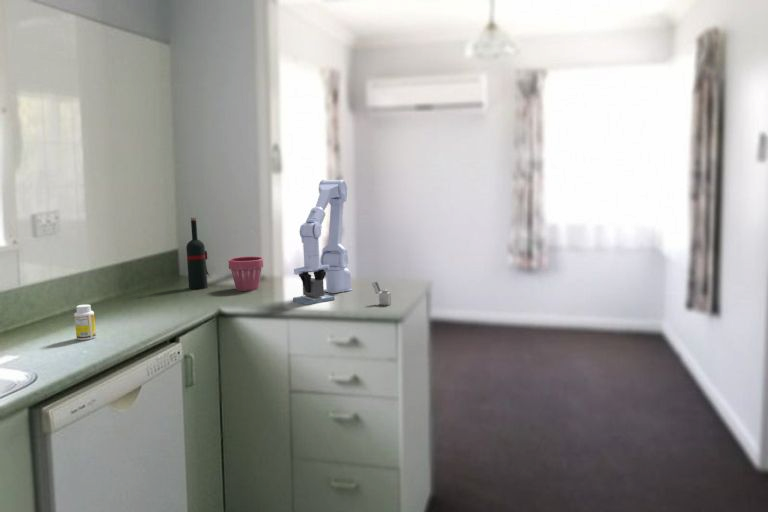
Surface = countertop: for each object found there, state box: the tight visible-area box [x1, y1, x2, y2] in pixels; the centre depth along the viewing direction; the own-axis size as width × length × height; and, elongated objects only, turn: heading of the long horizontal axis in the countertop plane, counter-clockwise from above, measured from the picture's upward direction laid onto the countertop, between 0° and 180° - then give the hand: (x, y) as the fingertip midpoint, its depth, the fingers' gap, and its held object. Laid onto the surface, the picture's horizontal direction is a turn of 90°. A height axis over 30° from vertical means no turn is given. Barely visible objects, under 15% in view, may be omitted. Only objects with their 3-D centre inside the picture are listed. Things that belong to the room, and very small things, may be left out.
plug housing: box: [302, 277, 325, 298], centre depth 263 cm, size 4×8×6 cm, turn 39°
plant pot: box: [228, 256, 264, 292], centre depth 293 cm, size 14×14×13 cm
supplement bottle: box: [74, 304, 97, 341], centre depth 216 cm, size 6×6×10 cm
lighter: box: [371, 280, 392, 306], centre depth 253 cm, size 7×2×8 cm, turn 54°
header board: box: [292, 293, 335, 306], centre depth 264 cm, size 12×10×4 cm
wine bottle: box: [185, 216, 210, 291], centre depth 300 cm, size 8×10×30 cm
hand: (313, 291), depth 264 cm, fingers closed on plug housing, 4 cm apart
